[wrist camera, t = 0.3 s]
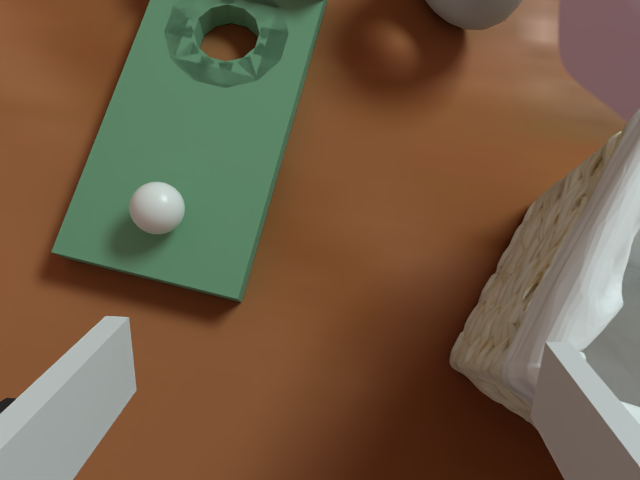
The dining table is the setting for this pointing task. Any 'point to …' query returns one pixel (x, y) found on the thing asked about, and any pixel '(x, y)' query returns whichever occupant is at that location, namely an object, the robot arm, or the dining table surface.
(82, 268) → the dining table surface
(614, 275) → the storage basket
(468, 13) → the donut
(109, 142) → the mat
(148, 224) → the ball
